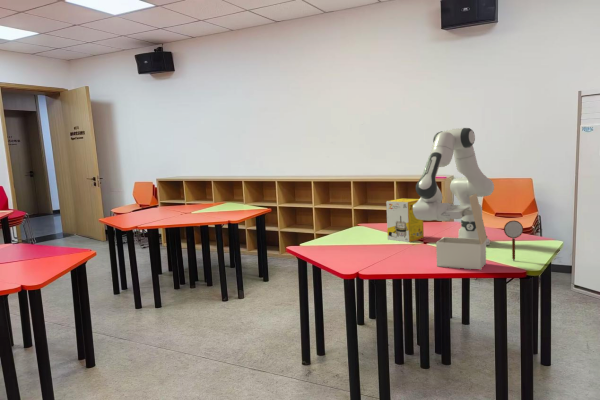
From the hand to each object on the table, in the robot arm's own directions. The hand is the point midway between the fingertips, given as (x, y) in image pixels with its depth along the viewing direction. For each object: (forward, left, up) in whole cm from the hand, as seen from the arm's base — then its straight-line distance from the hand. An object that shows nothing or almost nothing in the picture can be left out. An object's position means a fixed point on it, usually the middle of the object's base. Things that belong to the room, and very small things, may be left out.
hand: (475, 212), depth 208 cm
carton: (0, -7, -26) cm, 27 cm away
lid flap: (0, +1, -3) cm, 3 cm away
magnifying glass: (-16, +14, -26) cm, 34 cm away
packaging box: (-54, -54, -26) cm, 81 cm away
